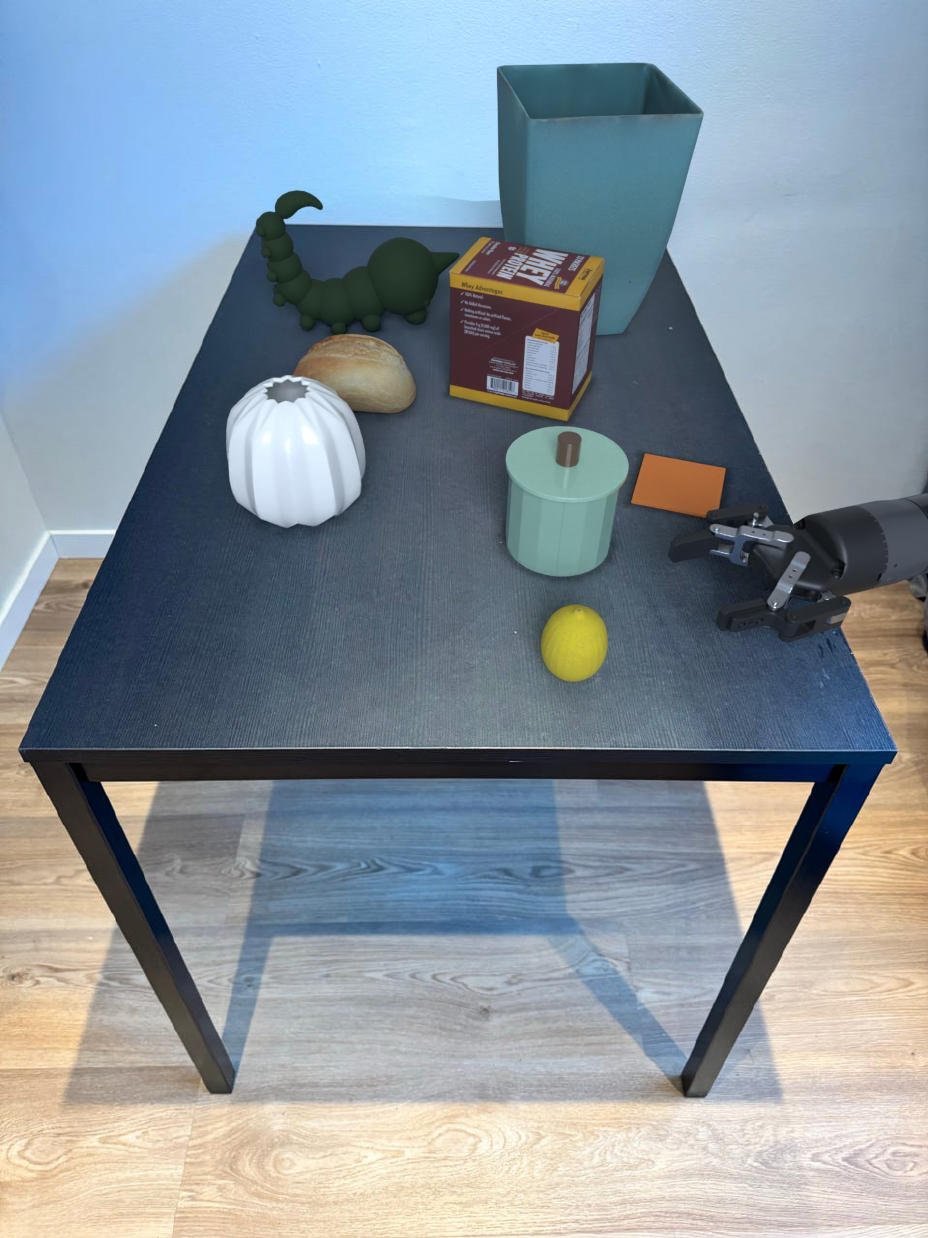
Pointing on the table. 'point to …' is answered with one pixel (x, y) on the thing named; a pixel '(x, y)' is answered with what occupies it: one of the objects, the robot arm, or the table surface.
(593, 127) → the flower pot
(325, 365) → the bread roll
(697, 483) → the orange square coaster
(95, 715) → the table surface
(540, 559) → the pot
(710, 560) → the table surface
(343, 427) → the vase
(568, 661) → the lemon
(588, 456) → the pot lid
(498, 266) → the supplement box
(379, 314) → the toy figurine
